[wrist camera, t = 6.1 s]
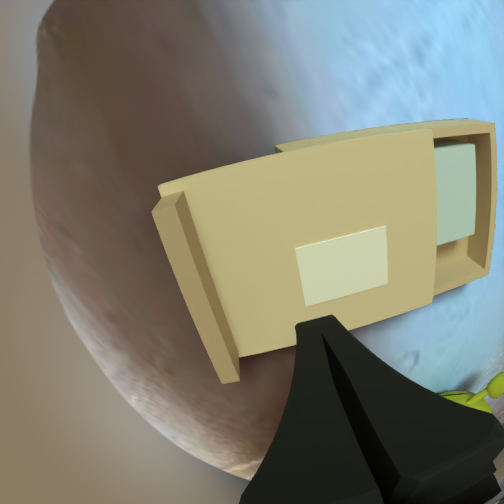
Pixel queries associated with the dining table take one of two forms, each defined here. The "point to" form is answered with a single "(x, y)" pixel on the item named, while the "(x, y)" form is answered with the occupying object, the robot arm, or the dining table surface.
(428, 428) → the robot arm
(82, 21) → the dining table surface
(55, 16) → the dining table surface
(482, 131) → the mailer box
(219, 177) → the lid
